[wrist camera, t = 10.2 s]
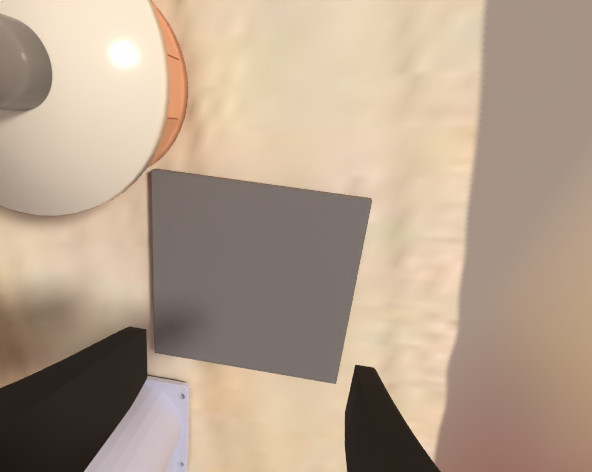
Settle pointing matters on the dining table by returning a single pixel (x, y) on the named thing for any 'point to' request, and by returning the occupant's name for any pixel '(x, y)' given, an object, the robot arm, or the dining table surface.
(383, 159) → the dining table surface
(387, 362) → the dining table surface
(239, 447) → the dining table surface
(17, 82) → the lid
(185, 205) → the mat
